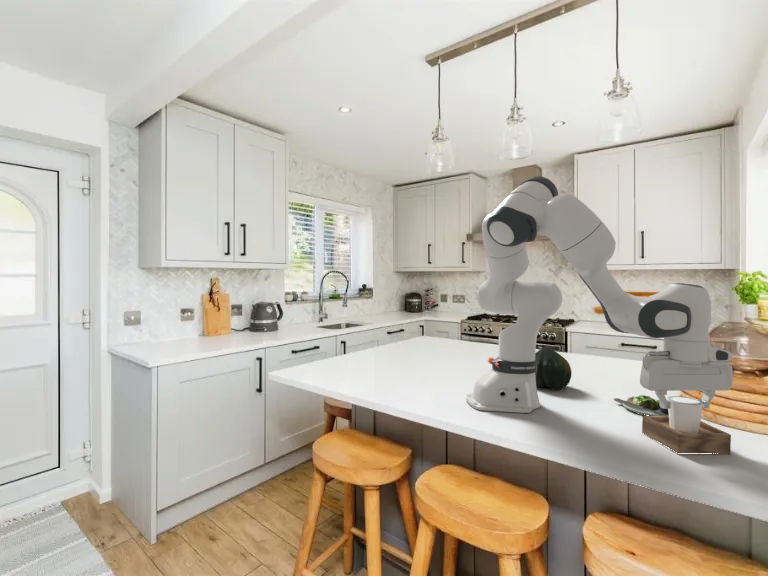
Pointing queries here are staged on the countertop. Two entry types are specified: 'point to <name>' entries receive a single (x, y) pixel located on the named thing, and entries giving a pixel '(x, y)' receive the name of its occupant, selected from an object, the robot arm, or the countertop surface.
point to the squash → (552, 369)
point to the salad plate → (644, 405)
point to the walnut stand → (687, 437)
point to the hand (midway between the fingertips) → (684, 408)
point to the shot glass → (685, 414)
